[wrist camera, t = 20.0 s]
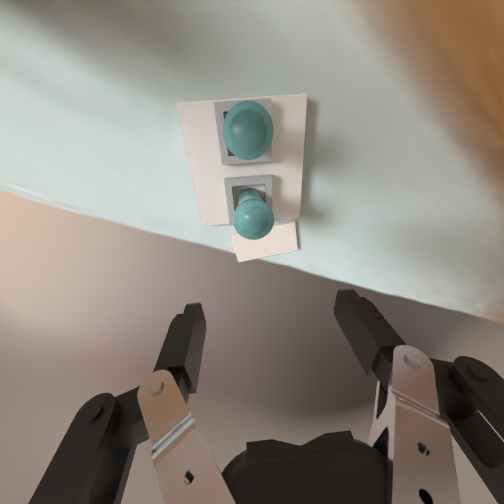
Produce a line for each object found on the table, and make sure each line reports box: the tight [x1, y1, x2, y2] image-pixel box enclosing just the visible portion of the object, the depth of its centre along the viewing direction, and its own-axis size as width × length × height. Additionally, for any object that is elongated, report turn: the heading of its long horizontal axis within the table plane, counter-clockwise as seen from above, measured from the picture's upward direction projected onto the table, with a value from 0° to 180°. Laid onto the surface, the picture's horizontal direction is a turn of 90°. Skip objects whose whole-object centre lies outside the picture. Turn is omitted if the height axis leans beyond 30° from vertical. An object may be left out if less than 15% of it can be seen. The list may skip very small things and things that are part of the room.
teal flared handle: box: [223, 100, 274, 160], centre depth 23 cm, size 5×5×10 cm
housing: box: [175, 93, 307, 226], centre depth 29 cm, size 17×17×4 cm
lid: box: [231, 220, 298, 262], centre depth 38 cm, size 12×6×1 cm, turn 102°
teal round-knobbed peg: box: [234, 187, 274, 240], centre depth 27 cm, size 5×5×10 cm
